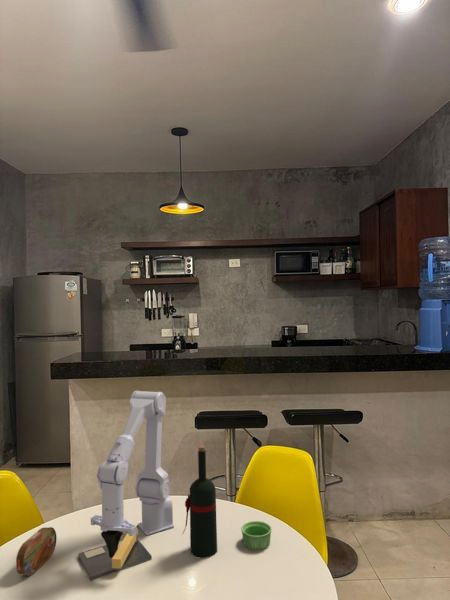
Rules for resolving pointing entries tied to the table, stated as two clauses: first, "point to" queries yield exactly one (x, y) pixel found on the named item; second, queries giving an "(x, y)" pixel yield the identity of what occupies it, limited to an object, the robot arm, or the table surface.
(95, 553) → the panel
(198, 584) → the table surface
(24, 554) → the tin
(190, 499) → the wine bottle
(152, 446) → the robot arm
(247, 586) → the table surface
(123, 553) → the tan wooden beam
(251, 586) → the table surface
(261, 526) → the ramekin
